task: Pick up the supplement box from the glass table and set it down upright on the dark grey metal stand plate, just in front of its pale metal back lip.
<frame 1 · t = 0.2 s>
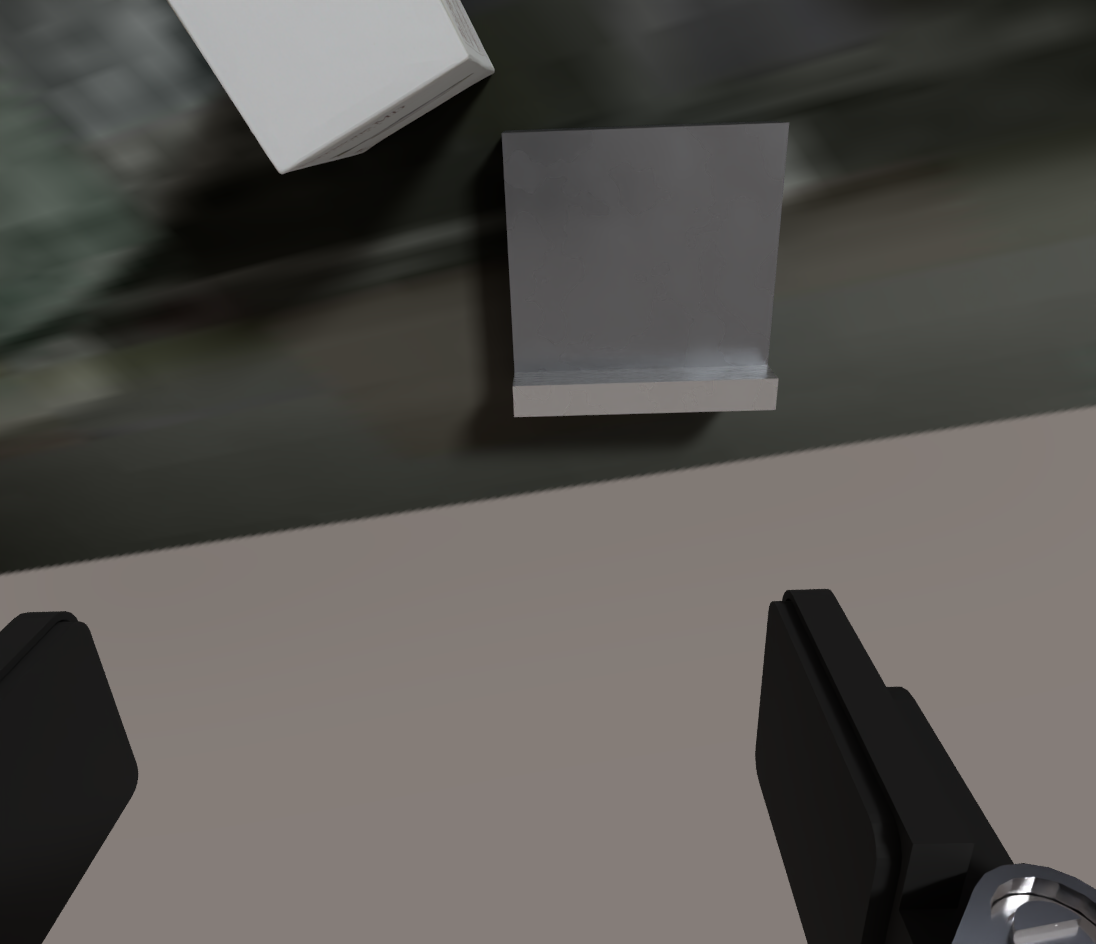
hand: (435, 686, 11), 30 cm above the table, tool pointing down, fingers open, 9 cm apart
stand plate: (636, 260, 38), on the table
supplement box: (386, 34, 34), on the table
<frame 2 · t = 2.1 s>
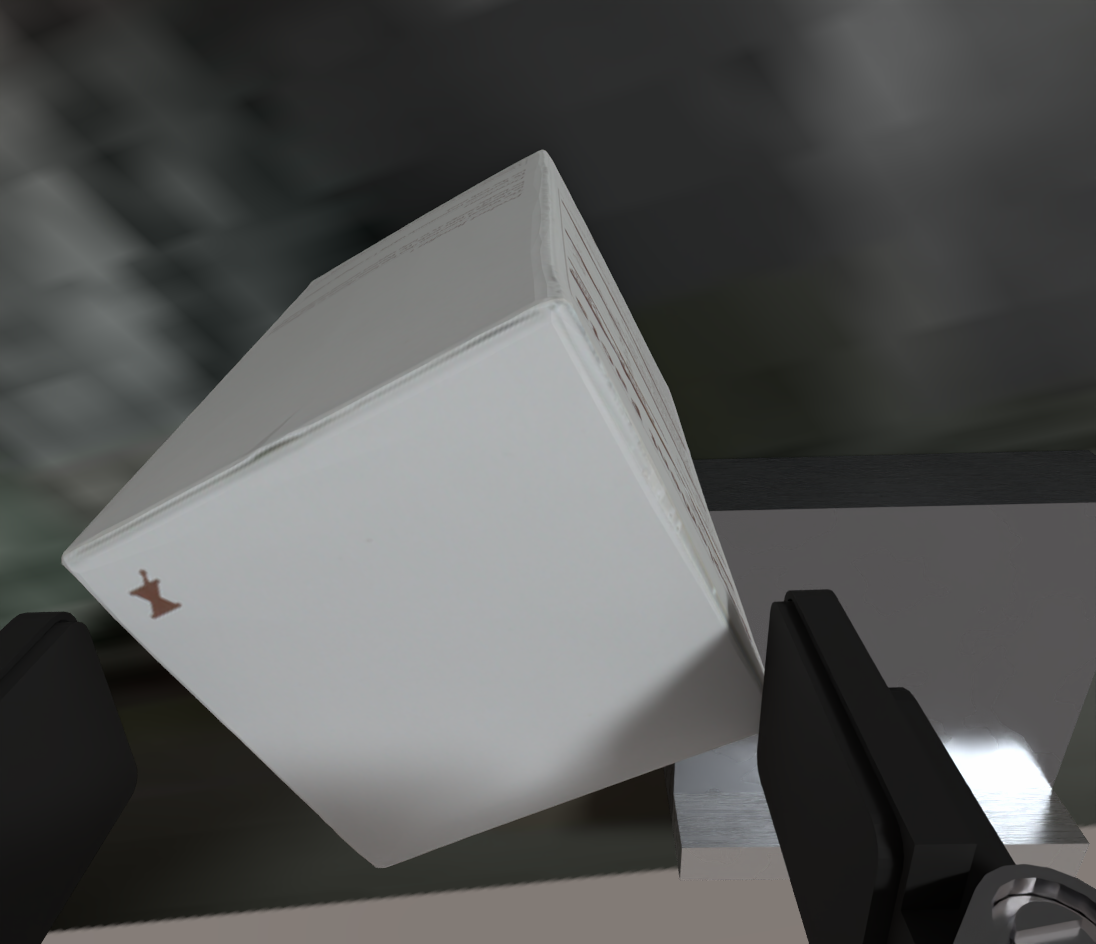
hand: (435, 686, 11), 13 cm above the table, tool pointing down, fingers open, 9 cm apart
stand plate: (850, 619, 26), on the table
supplement box: (496, 332, 22), on the table, touching gripper
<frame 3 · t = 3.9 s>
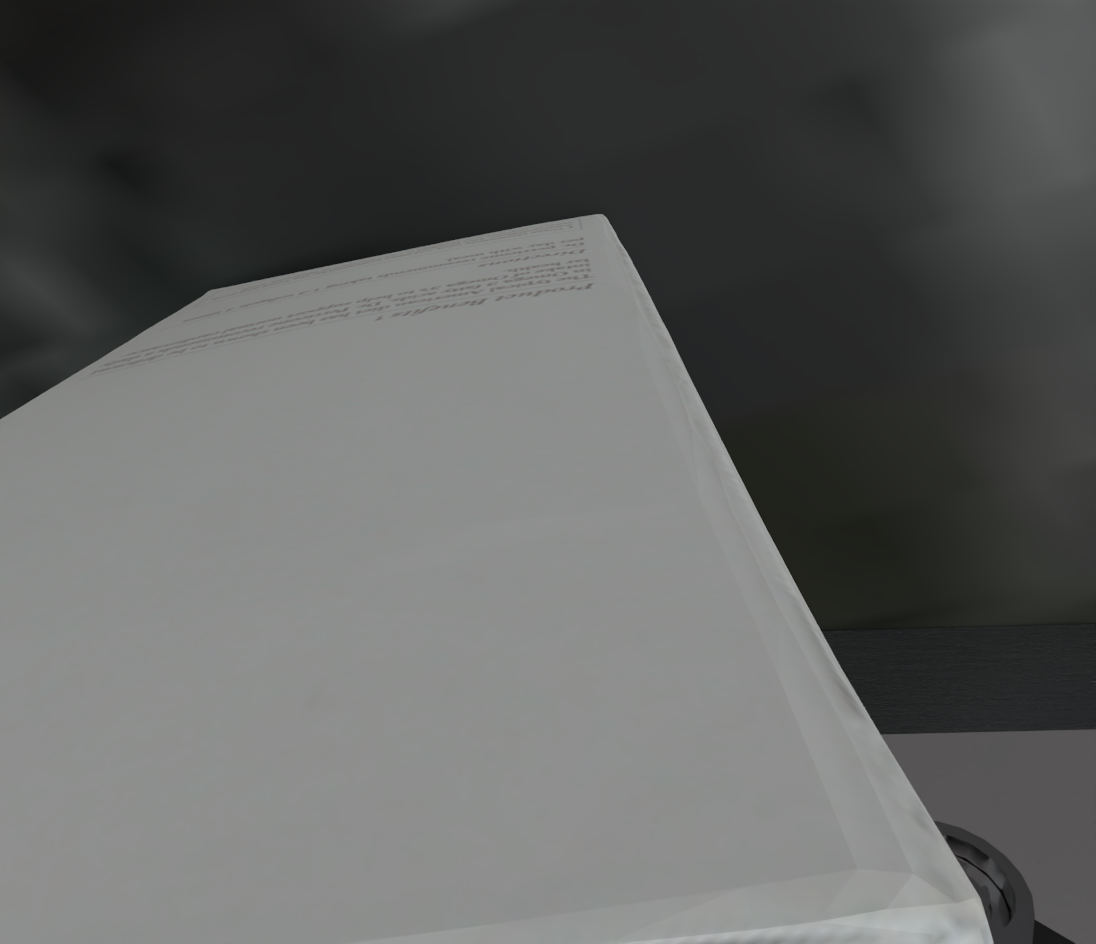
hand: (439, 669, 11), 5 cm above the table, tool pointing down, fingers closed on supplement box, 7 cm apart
stand plate: (958, 823, 19), on the table
supplement box: (458, 434, 15), on the table, touching gripper
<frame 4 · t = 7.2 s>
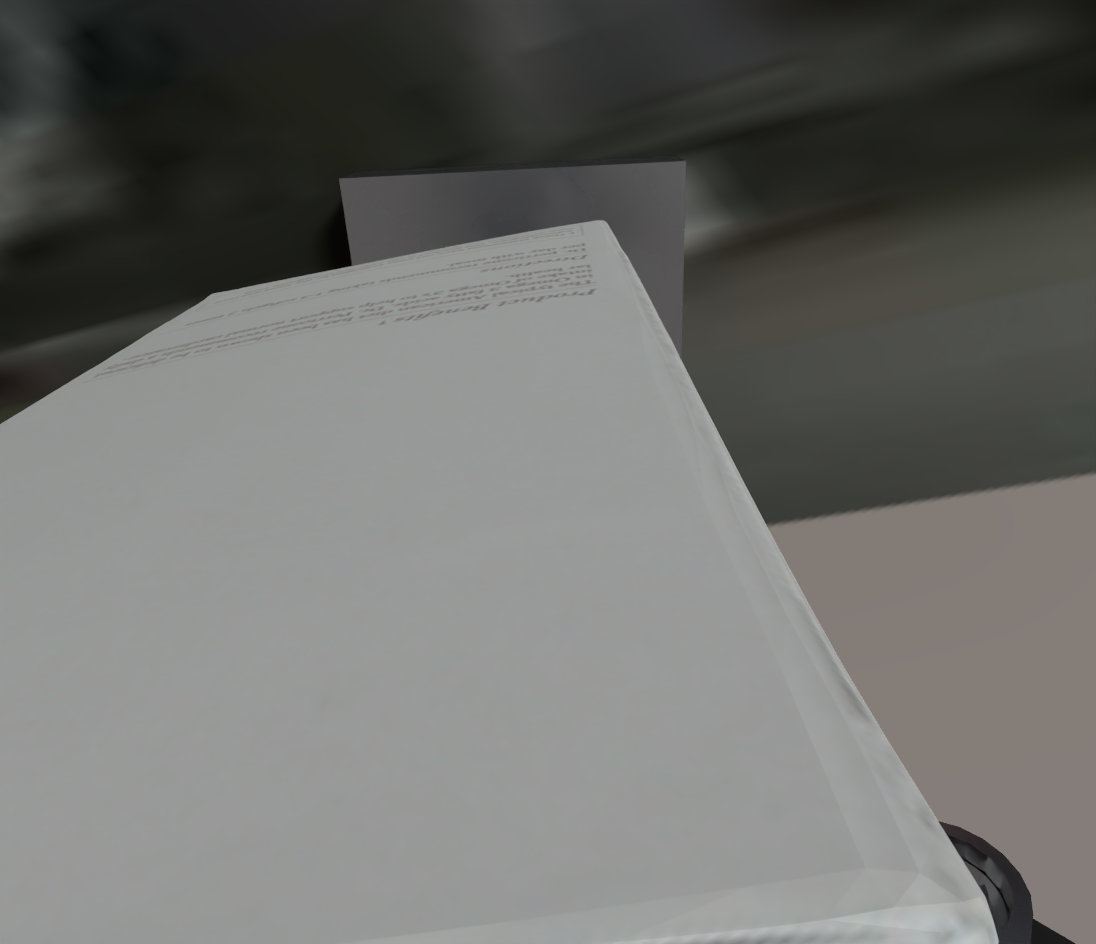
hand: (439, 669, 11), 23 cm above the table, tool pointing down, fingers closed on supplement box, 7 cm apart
stand plate: (525, 319, 32), on the table
supplement box: (458, 439, 15), point 18 cm above the table, touching gripper
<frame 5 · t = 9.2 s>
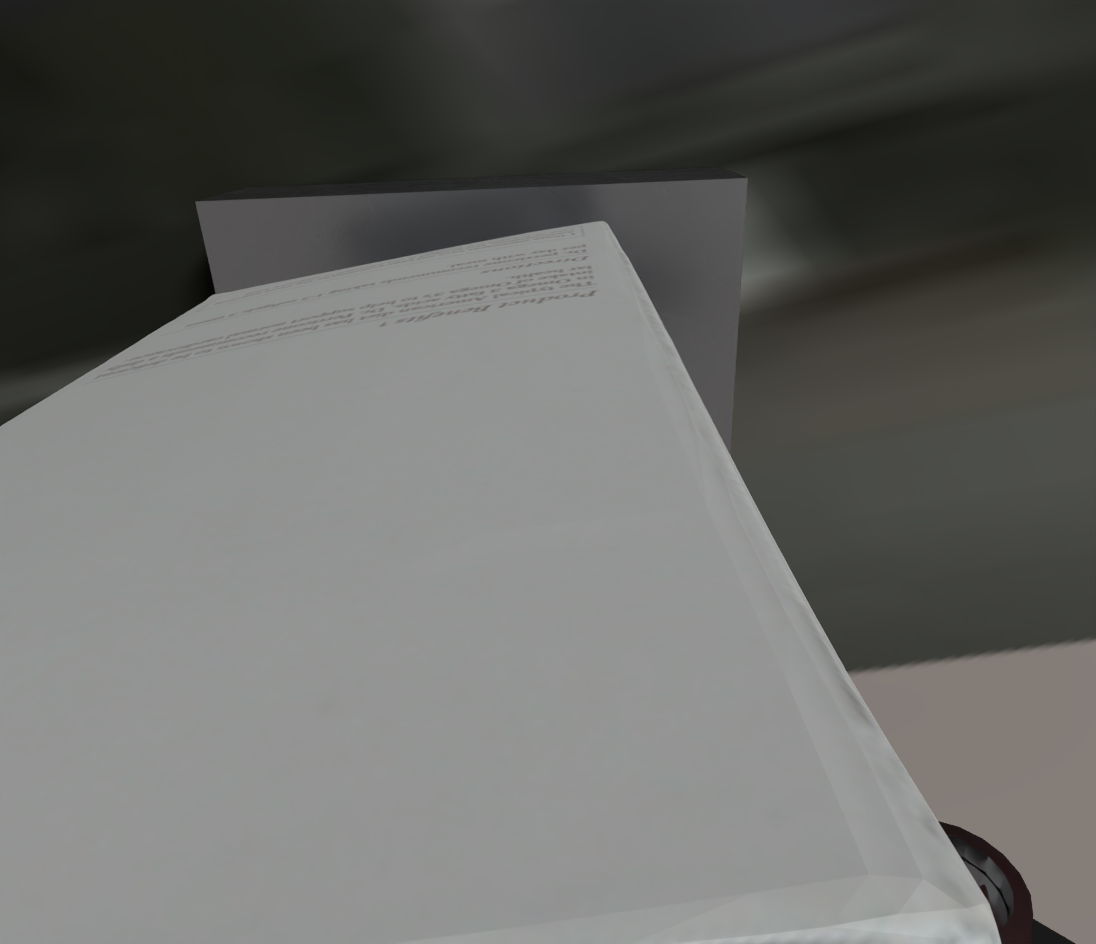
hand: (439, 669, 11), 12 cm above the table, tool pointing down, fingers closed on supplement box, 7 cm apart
stand plate: (497, 402, 22), on the table
supplement box: (459, 439, 15), point 7 cm above the table, touching gripper
when the fingers open (8 cm above the table, at t = 11.0 s): supplement box stays where it is, resting on stand plate.
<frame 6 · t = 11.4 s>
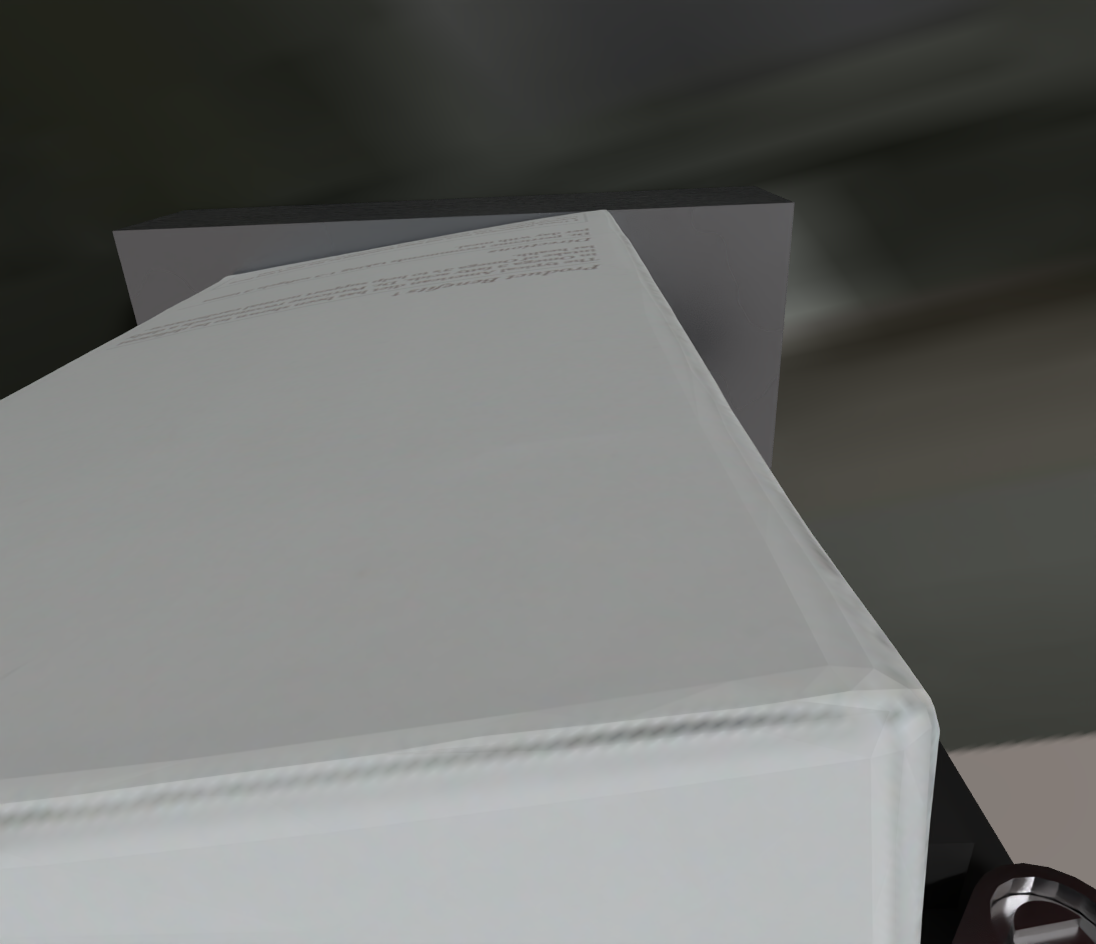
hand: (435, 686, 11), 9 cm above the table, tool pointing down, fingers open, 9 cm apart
stand plate: (488, 459, 19), on the table
supplement box: (462, 422, 16), point 3 cm above the table, touching stand plate
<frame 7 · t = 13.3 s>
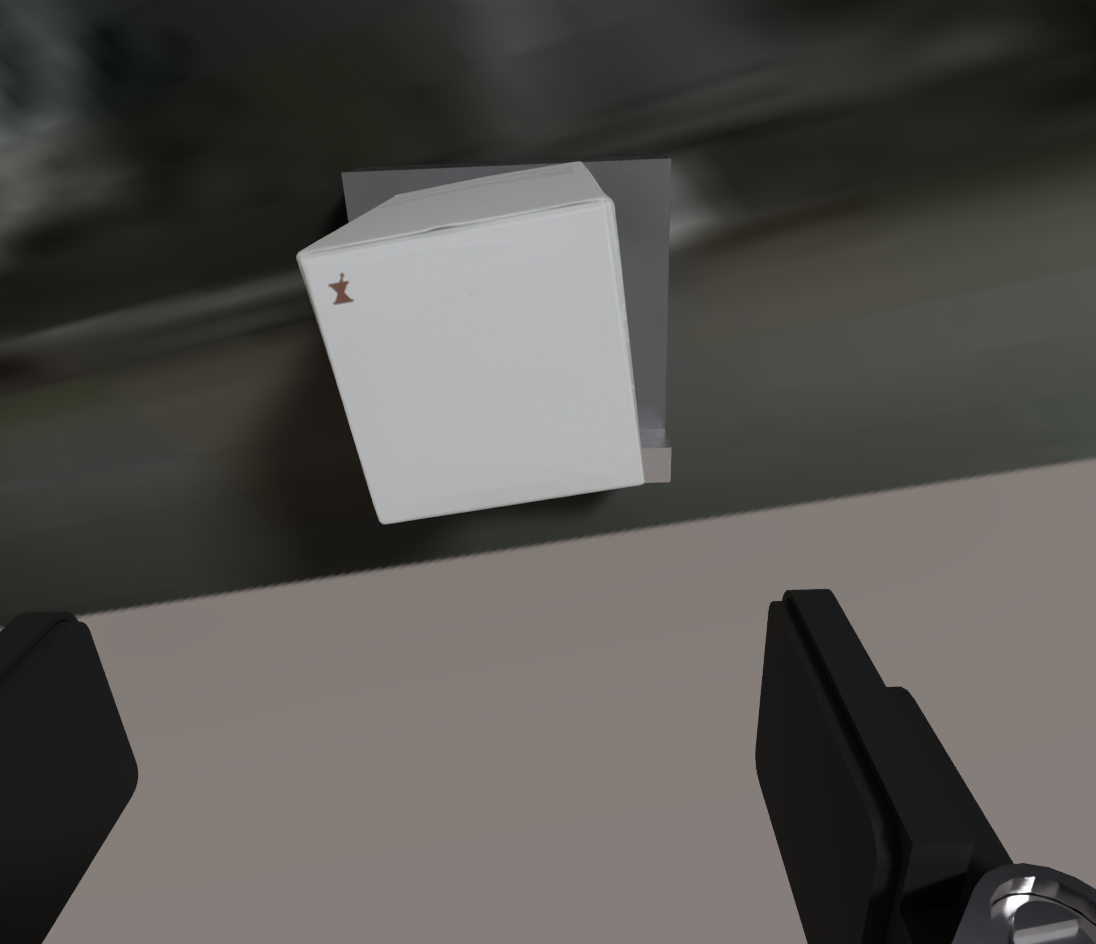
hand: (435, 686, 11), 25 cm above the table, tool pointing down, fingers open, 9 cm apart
stand plate: (518, 310, 34), on the table
supplement box: (508, 274, 30), point 3 cm above the table, touching stand plate
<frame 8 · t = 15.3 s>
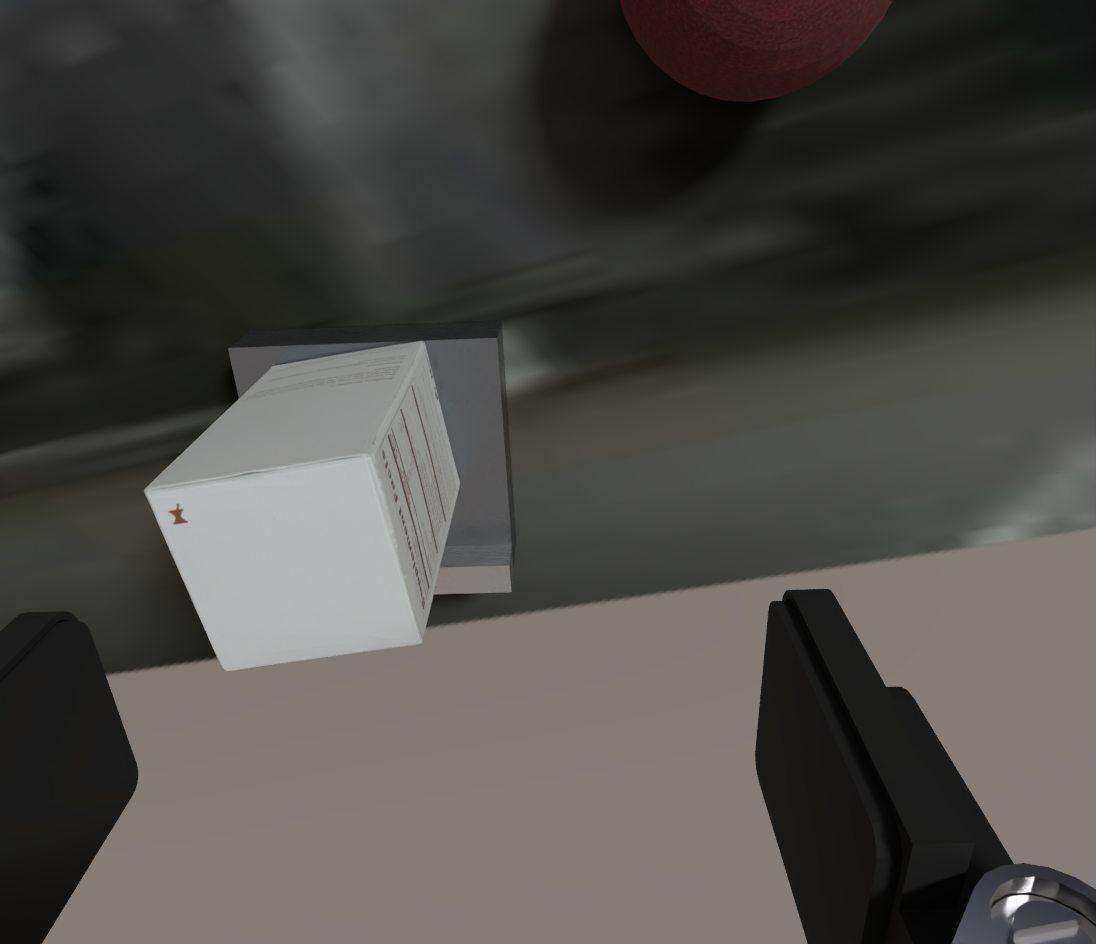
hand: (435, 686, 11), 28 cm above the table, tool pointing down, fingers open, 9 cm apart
stand plate: (391, 441, 40), on the table
supplement box: (371, 424, 37), point 3 cm above the table, touching stand plate
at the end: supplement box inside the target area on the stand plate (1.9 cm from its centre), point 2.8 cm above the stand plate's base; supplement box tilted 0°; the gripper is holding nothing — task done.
